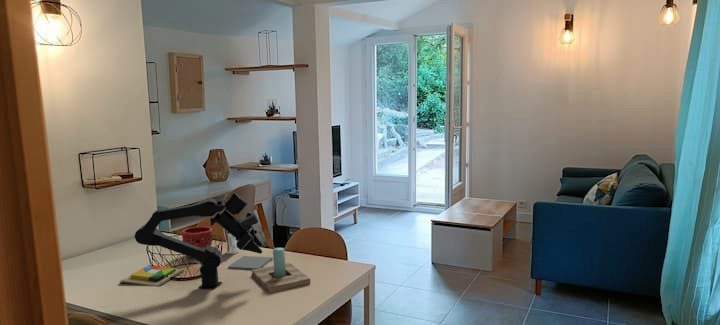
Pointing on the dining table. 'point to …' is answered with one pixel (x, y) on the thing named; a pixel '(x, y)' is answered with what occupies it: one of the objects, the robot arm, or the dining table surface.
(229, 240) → the white can
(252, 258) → the slate tile
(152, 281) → the wooden puzzle
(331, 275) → the dining table surface
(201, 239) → the plant pot
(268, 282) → the walnut puzzle board
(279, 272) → the pale teal peg
